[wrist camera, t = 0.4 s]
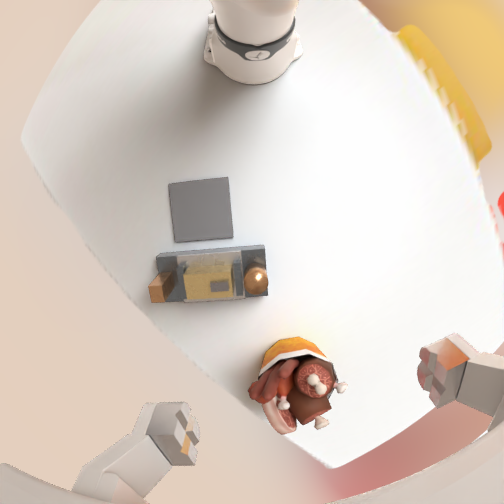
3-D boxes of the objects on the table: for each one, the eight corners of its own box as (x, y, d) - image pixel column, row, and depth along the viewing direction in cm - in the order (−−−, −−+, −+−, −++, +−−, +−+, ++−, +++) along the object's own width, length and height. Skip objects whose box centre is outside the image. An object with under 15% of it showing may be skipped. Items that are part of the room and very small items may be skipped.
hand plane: (168, 295, 55) (153, 318, 46) (160, 253, 53) (143, 268, 43) (266, 289, 55) (270, 312, 46) (263, 244, 53) (267, 259, 43)
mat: (169, 183, 50) (168, 183, 49) (228, 177, 50) (227, 177, 49) (176, 241, 53) (175, 242, 52) (233, 236, 52) (233, 237, 52)
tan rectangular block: (191, 290, 51) (186, 301, 47) (187, 267, 50) (182, 276, 46) (234, 288, 51) (233, 298, 47) (231, 264, 50) (230, 273, 45)
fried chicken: (342, 357, 60) (370, 417, 41) (288, 396, 63) (299, 458, 43) (289, 303, 56) (306, 362, 37) (230, 350, 59) (224, 416, 40)
